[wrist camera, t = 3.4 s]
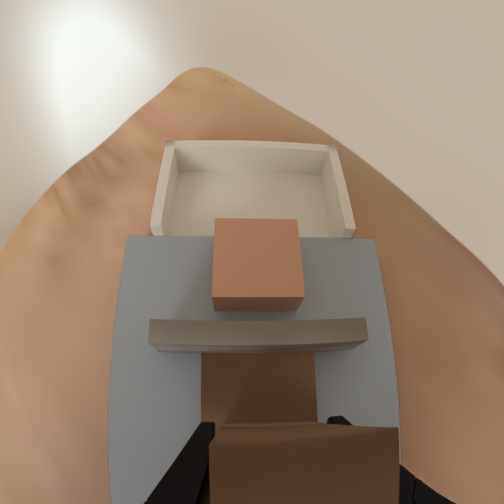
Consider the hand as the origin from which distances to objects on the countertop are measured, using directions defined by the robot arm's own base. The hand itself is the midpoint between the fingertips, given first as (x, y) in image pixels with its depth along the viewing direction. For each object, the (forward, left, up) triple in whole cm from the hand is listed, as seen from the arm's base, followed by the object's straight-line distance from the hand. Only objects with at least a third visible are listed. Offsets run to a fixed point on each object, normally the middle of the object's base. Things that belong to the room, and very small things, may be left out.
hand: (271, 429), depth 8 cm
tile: (+7, 0, -5) cm, 9 cm away
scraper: (+1, 0, -5) cm, 5 cm away
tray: (+13, 0, -7) cm, 15 cm away
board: (+1, 0, -7) cm, 7 cm away
